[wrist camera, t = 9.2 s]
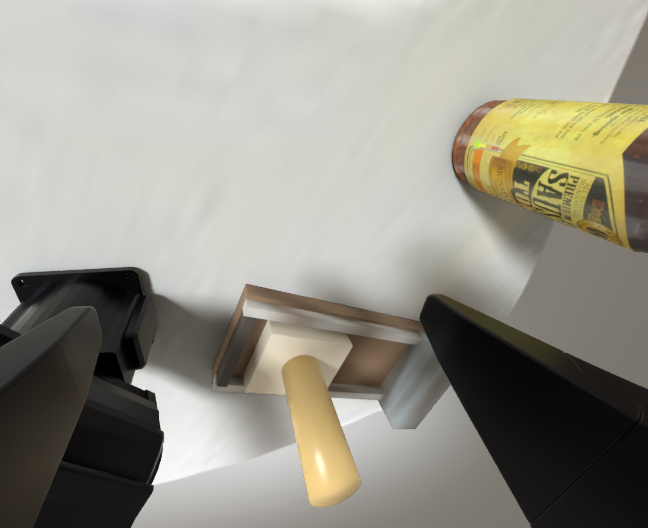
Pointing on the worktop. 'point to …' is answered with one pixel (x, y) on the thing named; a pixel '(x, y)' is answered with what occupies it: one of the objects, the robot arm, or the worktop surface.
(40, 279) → the robot arm
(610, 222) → the sauce bottle
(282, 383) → the rail carriage
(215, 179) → the worktop surface
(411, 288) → the worktop surface
